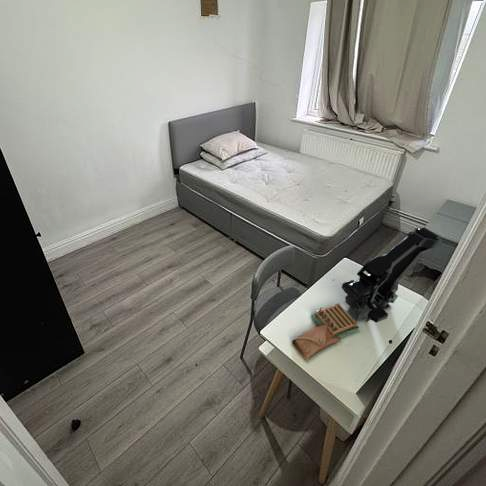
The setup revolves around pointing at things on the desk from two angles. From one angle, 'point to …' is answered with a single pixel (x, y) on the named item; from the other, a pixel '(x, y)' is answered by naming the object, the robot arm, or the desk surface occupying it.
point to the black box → (359, 313)
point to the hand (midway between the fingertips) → (358, 312)
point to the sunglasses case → (314, 341)
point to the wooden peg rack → (336, 320)
